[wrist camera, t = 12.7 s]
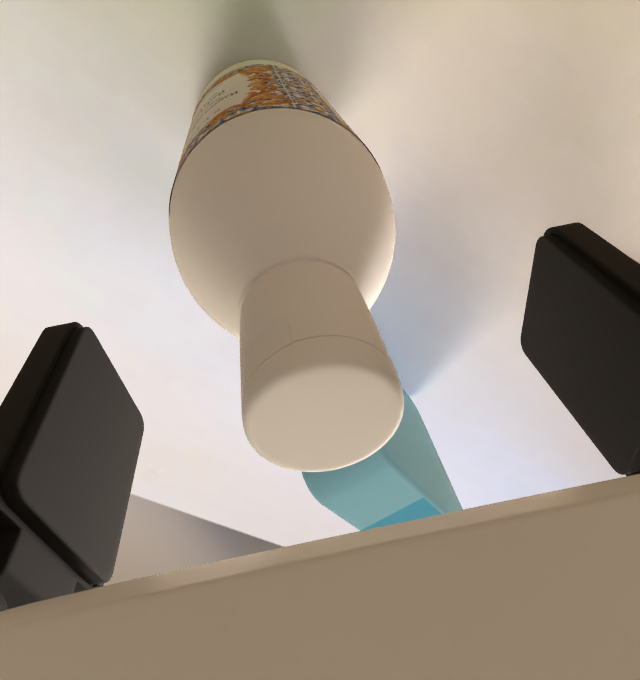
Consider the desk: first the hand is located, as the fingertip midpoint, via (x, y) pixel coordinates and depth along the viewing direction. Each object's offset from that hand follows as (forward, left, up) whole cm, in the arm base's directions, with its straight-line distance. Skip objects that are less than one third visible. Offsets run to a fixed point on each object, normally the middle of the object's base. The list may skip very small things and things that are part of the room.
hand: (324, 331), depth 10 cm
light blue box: (-3, +18, -18) cm, 25 cm away
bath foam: (0, 0, -18) cm, 18 cm away
